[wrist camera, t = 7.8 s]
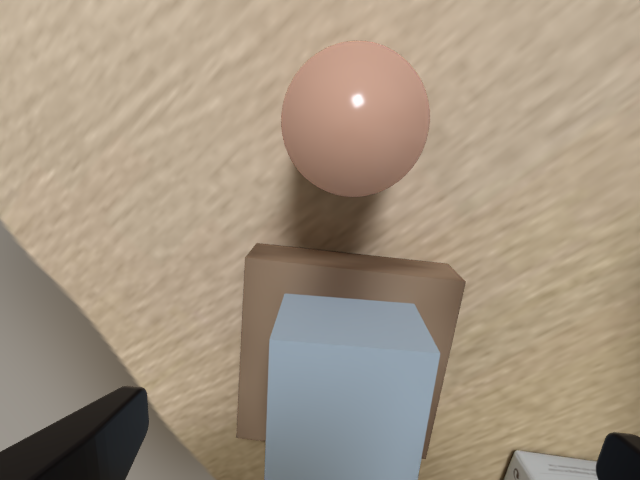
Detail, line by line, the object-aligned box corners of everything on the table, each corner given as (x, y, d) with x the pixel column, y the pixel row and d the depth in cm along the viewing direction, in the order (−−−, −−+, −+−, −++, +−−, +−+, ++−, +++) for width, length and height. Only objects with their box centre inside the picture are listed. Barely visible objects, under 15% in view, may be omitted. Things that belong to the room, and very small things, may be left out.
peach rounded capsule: (403, 84, 16) (443, 49, 10) (387, 185, 17) (415, 203, 11) (303, 74, 16) (287, 32, 10) (295, 175, 17) (276, 189, 11)
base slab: (447, 263, 18) (465, 281, 16) (414, 422, 21) (425, 459, 18) (256, 243, 18) (245, 257, 16) (247, 403, 21) (236, 437, 18)
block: (414, 303, 16) (440, 353, 12) (395, 429, 18) (412, 506, 14) (284, 293, 16) (269, 339, 12) (278, 419, 18) (263, 493, 14)
